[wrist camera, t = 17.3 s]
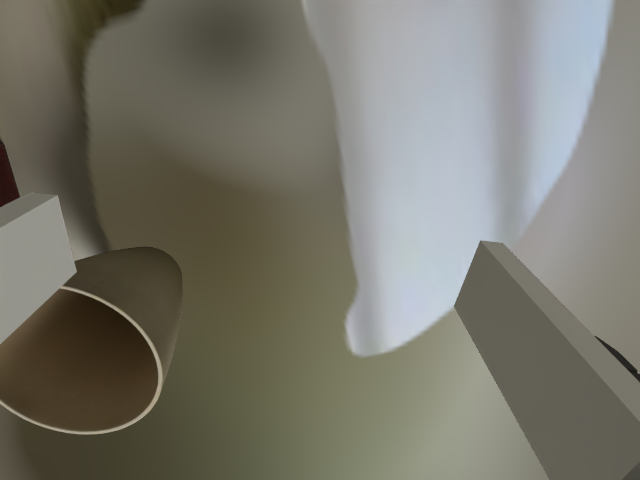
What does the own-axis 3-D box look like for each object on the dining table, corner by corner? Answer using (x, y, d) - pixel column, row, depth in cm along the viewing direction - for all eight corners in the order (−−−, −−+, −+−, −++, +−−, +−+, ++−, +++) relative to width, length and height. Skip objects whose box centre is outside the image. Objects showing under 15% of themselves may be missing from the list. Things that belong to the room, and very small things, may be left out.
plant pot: (210, 331, 45) (161, 443, 31) (93, 315, 44) (-18, 424, 30) (218, 226, 40) (162, 301, 25) (84, 204, 39) (-57, 270, 24)
